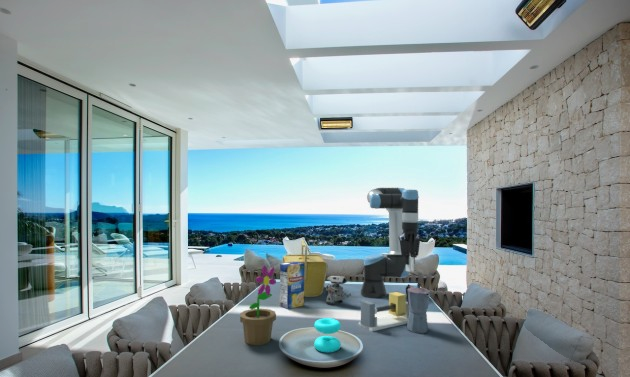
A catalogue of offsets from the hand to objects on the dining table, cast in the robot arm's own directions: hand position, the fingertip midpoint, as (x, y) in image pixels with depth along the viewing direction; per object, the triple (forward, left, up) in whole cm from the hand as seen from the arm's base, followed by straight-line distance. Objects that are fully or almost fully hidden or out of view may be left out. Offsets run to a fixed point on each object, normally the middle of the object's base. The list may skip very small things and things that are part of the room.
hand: (409, 271), depth 171 cm
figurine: (+17, -36, -23) cm, 46 cm away
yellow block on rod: (+8, 0, -19) cm, 21 cm away
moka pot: (+8, +12, -23) cm, 27 cm away
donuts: (+53, +10, -23) cm, 59 cm away
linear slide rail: (+14, 0, -22) cm, 26 cm away
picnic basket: (+20, -68, -23) cm, 75 cm away
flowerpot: (+73, -10, -23) cm, 77 cm away
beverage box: (+40, -45, -23) cm, 64 cm away
